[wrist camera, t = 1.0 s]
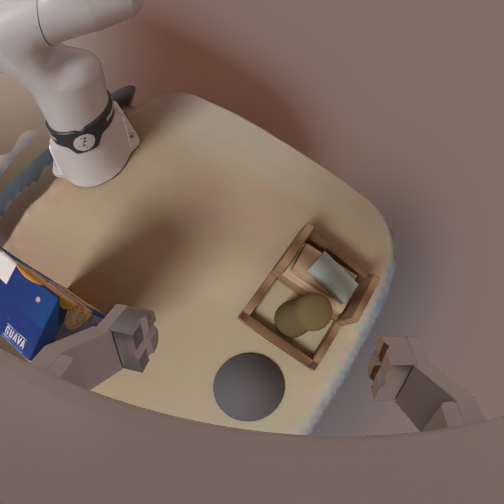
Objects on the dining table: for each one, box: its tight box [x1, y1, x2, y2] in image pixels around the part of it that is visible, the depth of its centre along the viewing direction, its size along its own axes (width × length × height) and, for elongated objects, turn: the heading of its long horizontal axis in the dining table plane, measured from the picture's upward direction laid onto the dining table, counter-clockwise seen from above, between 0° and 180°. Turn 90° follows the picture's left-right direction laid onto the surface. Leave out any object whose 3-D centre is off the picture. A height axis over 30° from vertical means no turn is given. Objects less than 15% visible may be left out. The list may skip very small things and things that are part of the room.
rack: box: [238, 222, 380, 370], centre depth 46 cm, size 18×15×7 cm
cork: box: [274, 292, 333, 338], centre depth 43 cm, size 6×6×11 cm
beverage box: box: [0, 247, 106, 361], centre depth 31 cm, size 7×11×22 cm, turn 65°
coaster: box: [214, 354, 284, 421], centre depth 43 cm, size 11×11×1 cm
